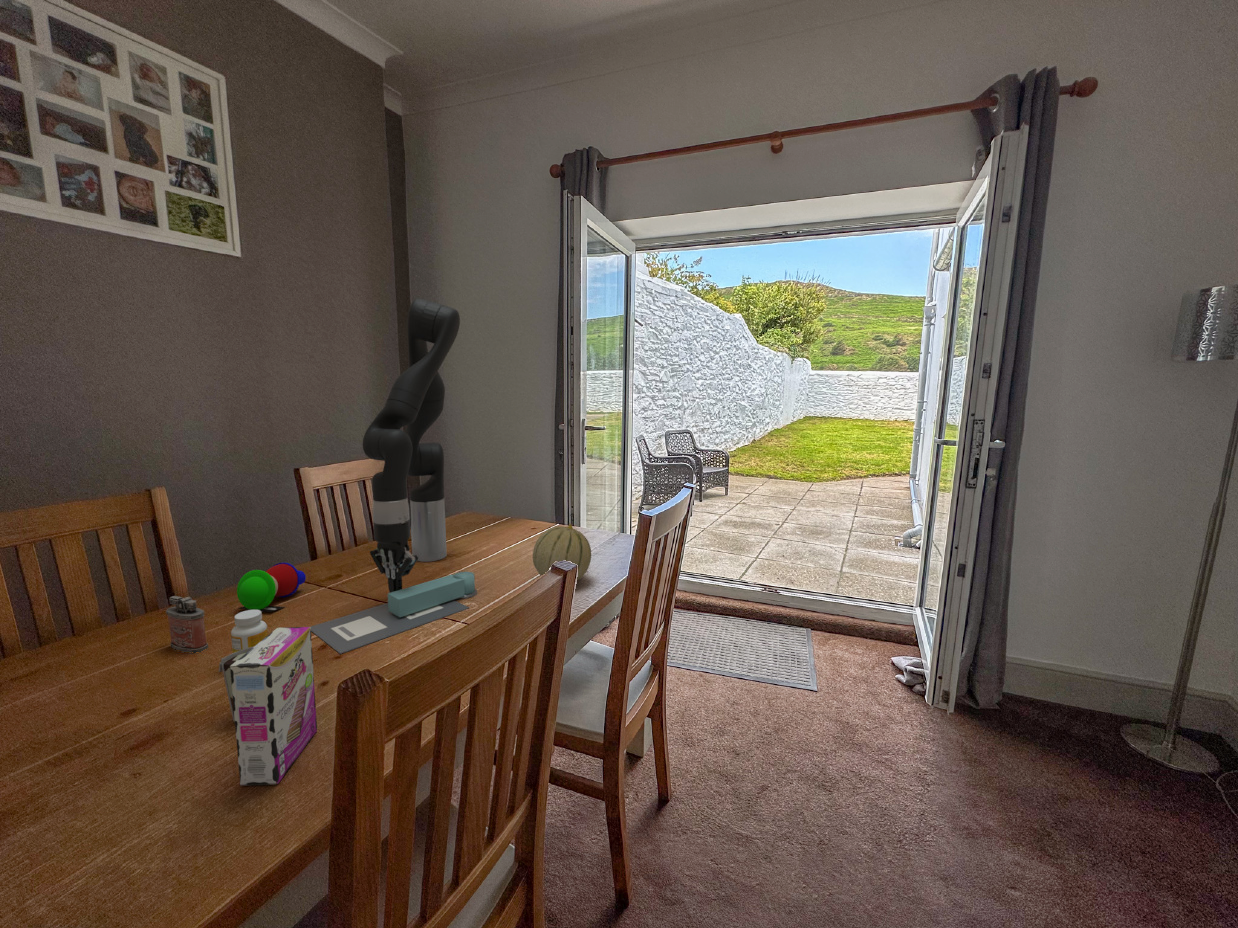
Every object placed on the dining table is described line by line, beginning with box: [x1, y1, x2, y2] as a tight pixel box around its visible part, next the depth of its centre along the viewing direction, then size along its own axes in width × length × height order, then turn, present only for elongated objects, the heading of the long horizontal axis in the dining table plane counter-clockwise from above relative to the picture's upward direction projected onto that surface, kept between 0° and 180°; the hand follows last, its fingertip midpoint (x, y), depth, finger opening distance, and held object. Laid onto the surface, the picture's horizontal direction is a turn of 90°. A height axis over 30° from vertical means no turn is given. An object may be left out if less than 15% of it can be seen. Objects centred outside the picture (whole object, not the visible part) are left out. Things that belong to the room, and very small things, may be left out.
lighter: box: [165, 595, 209, 654], centre depth 103 cm, size 8×3×10 cm, turn 71°
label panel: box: [310, 599, 470, 655], centre depth 118 cm, size 16×28×1 cm, turn 139°
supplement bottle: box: [230, 609, 269, 653], centre depth 97 cm, size 5×5×10 cm
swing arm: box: [387, 571, 476, 617], centre depth 125 cm, size 5×20×4 cm, turn 139°
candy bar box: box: [230, 626, 318, 787], centre depth 73 cm, size 11×5×16 cm, turn 5°
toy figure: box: [236, 562, 307, 613], centre depth 124 cm, size 9×10×15 cm
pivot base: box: [455, 588, 478, 600], centre depth 131 cm, size 6×6×1 cm
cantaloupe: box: [532, 523, 592, 581], centre depth 138 cm, size 15×15×15 cm
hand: (395, 592), depth 123 cm, fingers closed
